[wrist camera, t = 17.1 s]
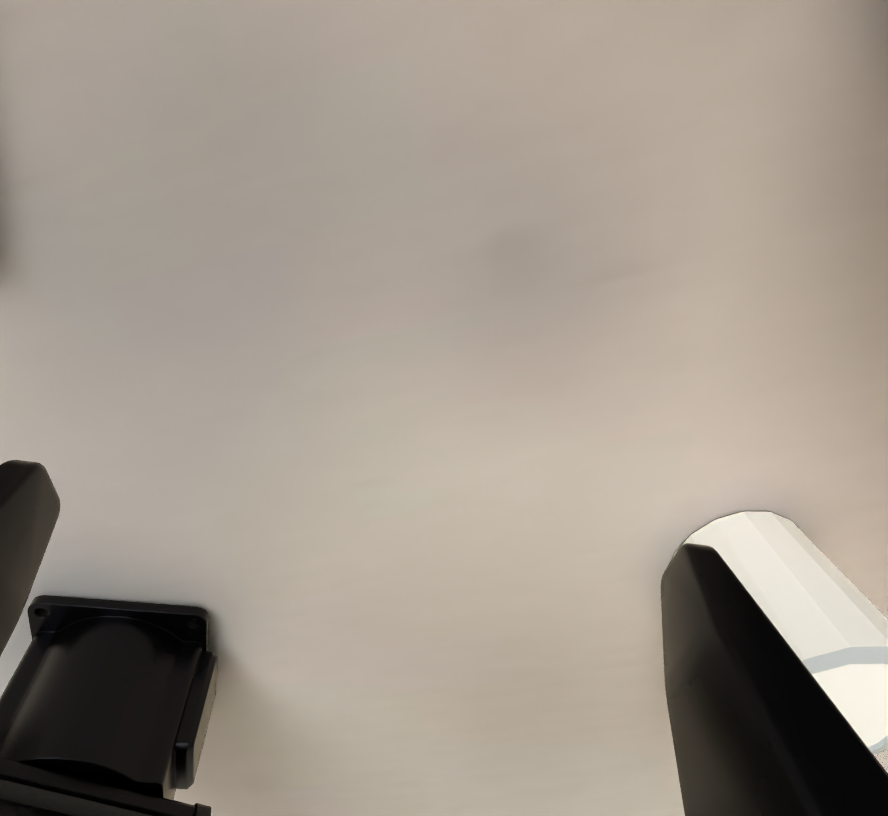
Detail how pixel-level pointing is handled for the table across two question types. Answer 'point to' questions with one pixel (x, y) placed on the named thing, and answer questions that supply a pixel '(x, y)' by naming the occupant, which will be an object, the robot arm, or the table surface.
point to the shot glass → (812, 613)
